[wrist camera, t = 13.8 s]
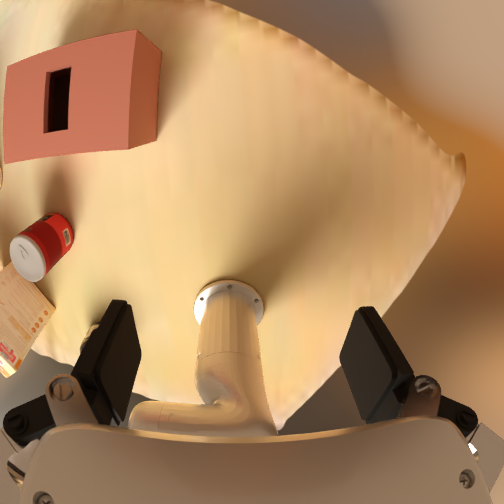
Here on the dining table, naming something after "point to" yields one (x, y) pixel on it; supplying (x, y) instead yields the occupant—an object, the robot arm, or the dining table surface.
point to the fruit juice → (0, 177)
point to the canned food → (41, 246)
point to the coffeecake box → (19, 317)
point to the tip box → (82, 98)
